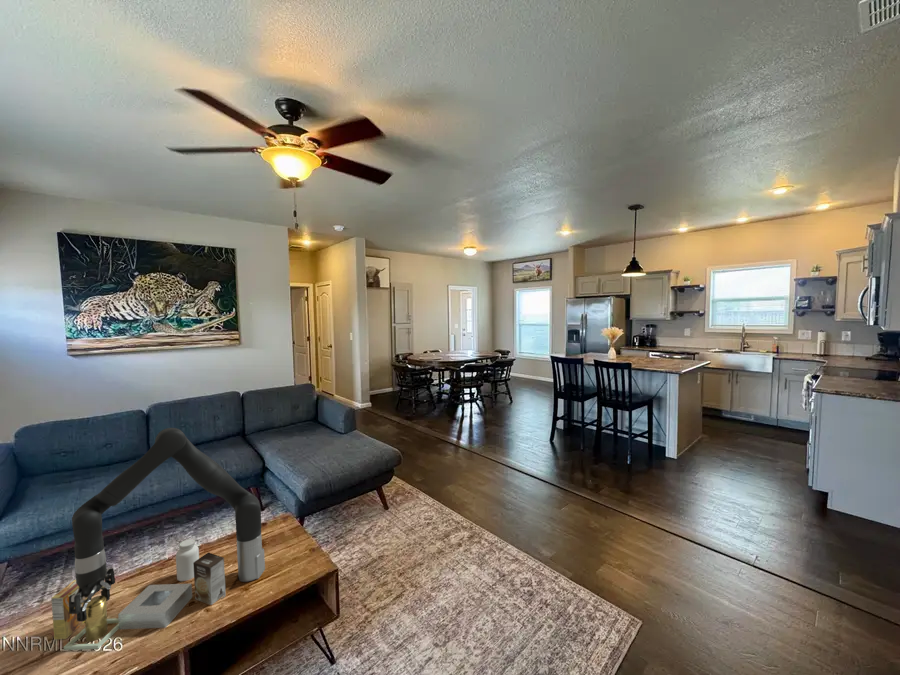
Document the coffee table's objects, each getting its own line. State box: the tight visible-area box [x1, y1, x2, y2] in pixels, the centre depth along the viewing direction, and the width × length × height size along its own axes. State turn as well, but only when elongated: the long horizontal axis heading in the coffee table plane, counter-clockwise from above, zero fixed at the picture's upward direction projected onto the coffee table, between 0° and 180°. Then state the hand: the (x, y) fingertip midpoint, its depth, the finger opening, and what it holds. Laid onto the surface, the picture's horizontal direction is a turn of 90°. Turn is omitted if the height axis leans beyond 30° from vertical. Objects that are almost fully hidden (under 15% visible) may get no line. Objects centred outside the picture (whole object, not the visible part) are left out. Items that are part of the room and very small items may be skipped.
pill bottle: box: [175, 538, 200, 582], centre depth 156 cm, size 8×8×15 cm
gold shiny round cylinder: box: [84, 594, 108, 643], centre depth 127 cm, size 5×5×13 cm
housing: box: [117, 583, 193, 630], centre depth 137 cm, size 16×14×6 cm
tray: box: [63, 617, 120, 651], centre depth 127 cm, size 11×11×2 cm
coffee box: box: [193, 552, 226, 606], centre depth 144 cm, size 9×6×16 cm
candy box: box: [50, 579, 87, 641], centre depth 130 cm, size 9×4×15 cm, turn 6°
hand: (94, 610), depth 127 cm, fingers open, 8 cm apart
